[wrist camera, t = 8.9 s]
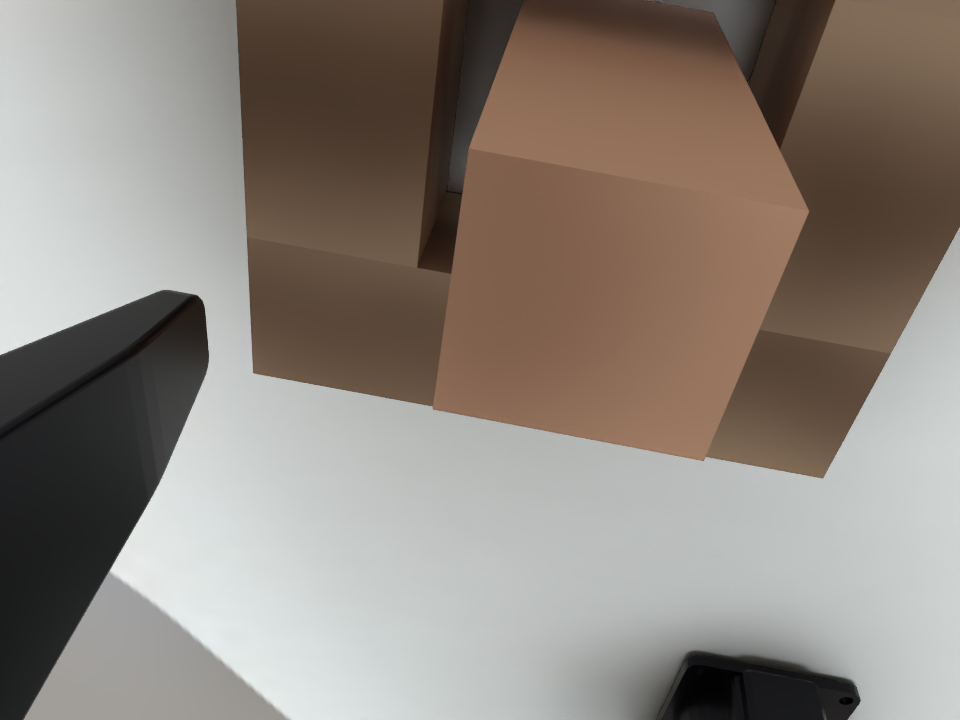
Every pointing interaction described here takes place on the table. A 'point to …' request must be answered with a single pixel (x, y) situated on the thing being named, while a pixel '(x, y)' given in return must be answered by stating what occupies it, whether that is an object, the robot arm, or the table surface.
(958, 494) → the table surface
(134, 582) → the table surface
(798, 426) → the socket block
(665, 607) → the table surface
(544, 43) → the peg
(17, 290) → the table surface
